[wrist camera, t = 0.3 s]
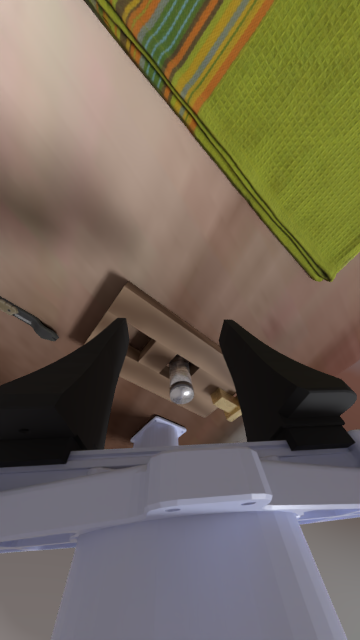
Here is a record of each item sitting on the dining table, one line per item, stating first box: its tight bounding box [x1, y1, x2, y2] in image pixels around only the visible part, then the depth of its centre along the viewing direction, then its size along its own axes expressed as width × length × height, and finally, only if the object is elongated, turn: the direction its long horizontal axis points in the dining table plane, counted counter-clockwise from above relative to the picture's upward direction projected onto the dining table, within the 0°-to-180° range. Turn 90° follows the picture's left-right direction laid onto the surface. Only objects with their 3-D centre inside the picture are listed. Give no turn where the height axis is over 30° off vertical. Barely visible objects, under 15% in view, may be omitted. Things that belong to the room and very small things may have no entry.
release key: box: [211, 388, 242, 422], centre depth 27 cm, size 4×5×2 cm
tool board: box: [84, 282, 236, 418], centre depth 25 cm, size 12×24×2 cm, turn 51°
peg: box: [169, 354, 194, 404], centre depth 23 cm, size 3×3×7 cm
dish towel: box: [85, 0, 360, 282], centre depth 14 cm, size 15×36×3 cm, turn 51°
